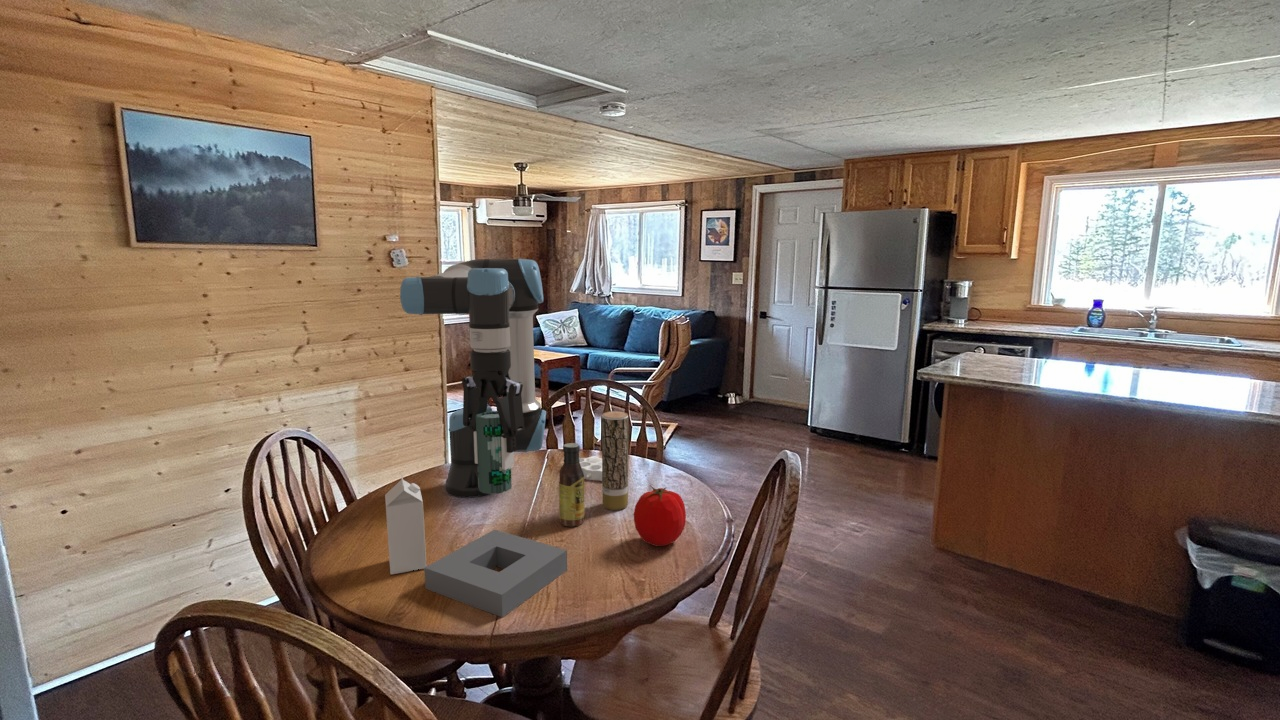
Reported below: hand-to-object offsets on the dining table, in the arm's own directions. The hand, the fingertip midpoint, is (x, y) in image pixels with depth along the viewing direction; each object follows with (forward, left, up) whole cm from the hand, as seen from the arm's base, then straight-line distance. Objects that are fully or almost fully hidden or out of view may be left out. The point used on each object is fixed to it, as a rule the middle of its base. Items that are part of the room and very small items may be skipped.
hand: (494, 464), depth 121 cm
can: (0, 0, -5) cm, 5 cm away
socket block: (0, 0, -24) cm, 24 cm away
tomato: (+21, +31, -25) cm, 45 cm away
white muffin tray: (-18, +63, -25) cm, 70 cm away
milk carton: (-21, -5, -25) cm, 33 cm away
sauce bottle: (-3, +30, -25) cm, 39 cm away
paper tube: (+1, +44, -25) cm, 51 cm away
